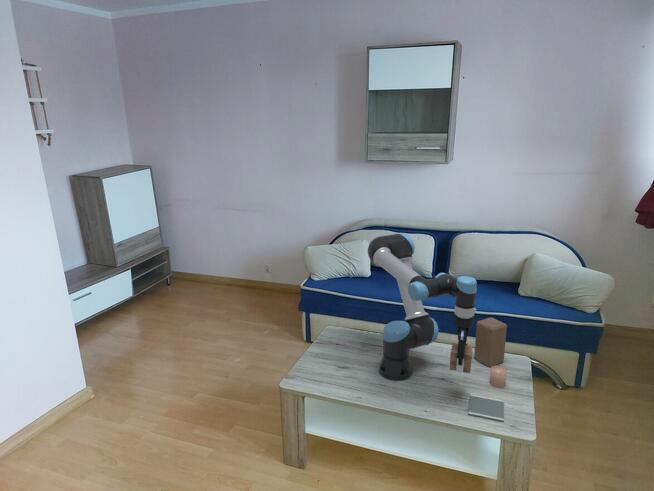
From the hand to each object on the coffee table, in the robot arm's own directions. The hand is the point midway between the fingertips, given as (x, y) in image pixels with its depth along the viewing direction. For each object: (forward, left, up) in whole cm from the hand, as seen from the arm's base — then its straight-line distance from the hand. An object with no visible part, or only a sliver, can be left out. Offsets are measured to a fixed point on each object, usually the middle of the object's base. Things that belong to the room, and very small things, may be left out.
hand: (460, 365), depth 180 cm
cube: (0, 0, 0) cm, 0 cm away
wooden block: (+11, +33, -14) cm, 37 cm away
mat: (+11, -6, -14) cm, 19 cm away
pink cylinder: (+15, +14, -14) cm, 25 cm away
